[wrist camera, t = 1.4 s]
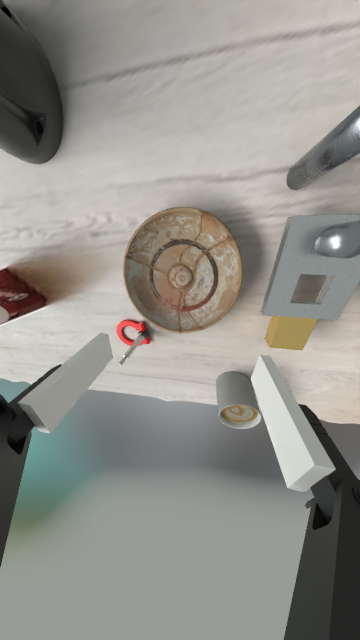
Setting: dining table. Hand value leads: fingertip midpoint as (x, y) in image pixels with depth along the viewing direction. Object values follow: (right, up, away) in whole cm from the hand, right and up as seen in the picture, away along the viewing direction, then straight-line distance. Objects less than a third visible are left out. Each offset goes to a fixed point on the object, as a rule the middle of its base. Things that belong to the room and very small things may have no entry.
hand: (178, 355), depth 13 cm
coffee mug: (+16, -18, +33) cm, 41 cm away
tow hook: (-13, 0, +29) cm, 32 cm away
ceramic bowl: (+1, +13, +20) cm, 23 cm away
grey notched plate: (+22, +10, +17) cm, 30 cm away
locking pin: (+18, +25, +10) cm, 33 cm away
